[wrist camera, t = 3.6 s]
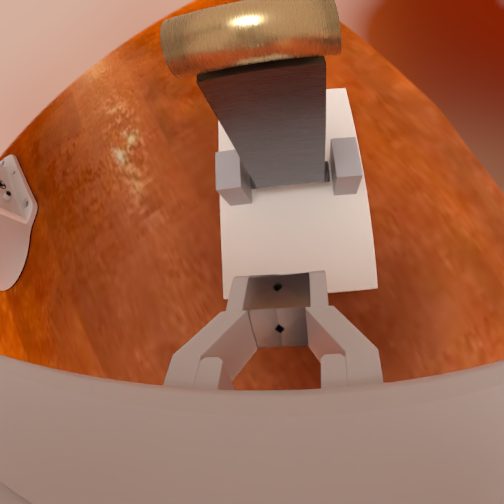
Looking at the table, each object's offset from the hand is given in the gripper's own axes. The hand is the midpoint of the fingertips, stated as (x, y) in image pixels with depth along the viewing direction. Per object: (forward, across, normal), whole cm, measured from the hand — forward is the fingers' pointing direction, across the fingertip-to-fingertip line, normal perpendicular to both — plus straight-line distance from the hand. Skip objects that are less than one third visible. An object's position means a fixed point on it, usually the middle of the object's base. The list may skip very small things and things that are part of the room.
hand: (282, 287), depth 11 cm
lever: (+15, 0, +2) cm, 15 cm away
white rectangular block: (+19, 0, +6) cm, 20 cm away
